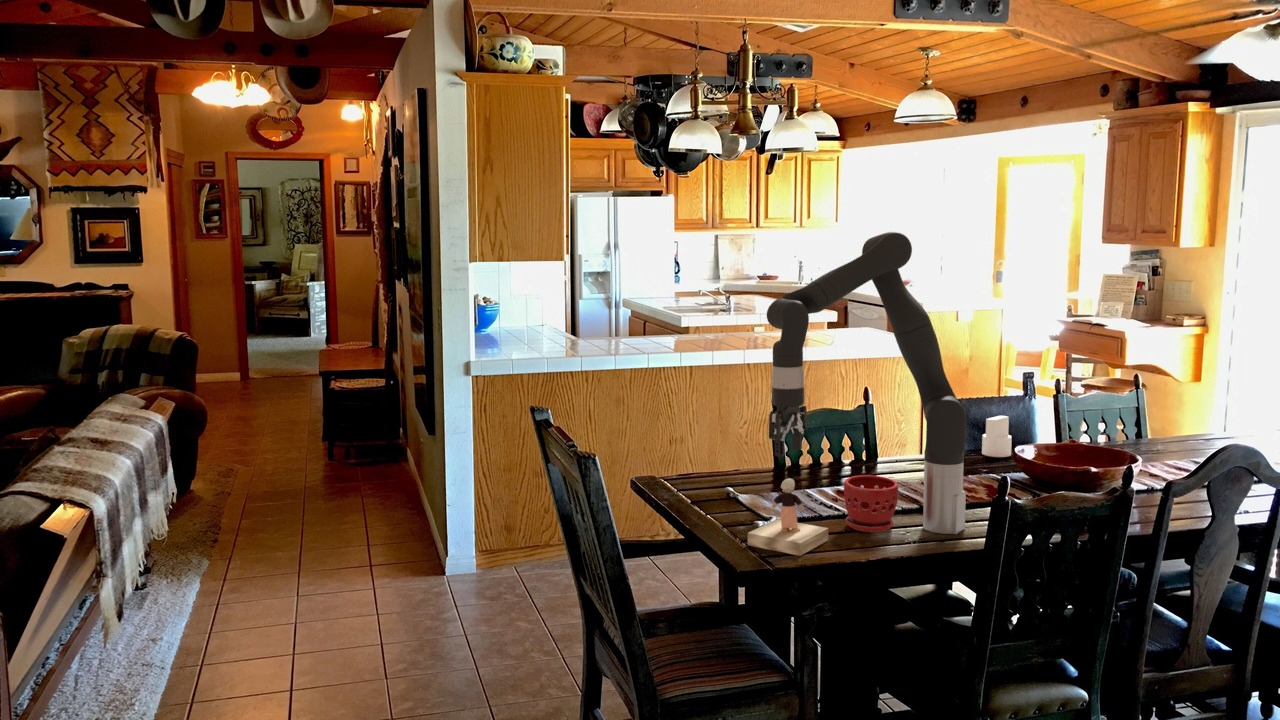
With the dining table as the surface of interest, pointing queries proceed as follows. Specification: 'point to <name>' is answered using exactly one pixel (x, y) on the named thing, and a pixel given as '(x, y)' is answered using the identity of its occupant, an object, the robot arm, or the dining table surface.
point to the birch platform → (788, 538)
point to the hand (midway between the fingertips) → (788, 452)
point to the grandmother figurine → (788, 506)
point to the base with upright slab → (997, 437)
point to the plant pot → (870, 502)
